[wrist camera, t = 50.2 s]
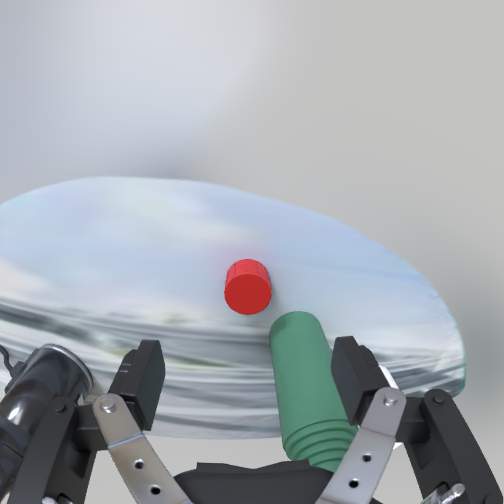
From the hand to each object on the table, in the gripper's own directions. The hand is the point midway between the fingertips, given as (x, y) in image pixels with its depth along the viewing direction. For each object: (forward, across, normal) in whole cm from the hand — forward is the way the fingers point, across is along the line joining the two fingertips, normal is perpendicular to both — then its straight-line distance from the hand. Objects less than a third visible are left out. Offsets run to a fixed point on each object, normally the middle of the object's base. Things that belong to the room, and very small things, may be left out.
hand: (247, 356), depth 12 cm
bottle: (+15, -5, +10) cm, 19 cm away
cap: (+15, 0, +3) cm, 16 cm away
